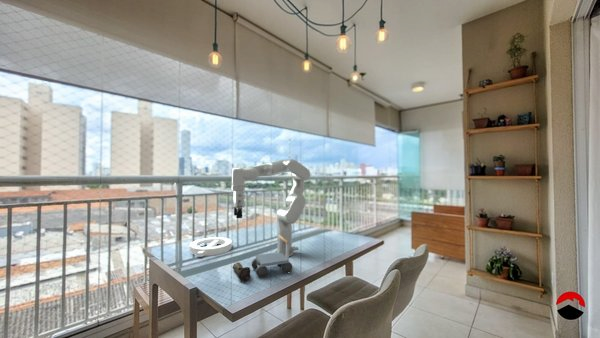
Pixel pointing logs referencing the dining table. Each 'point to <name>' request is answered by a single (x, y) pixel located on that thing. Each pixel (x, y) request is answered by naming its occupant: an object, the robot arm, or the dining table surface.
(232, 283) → the dining table surface
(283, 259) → the trolley
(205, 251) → the ring with crossbar
